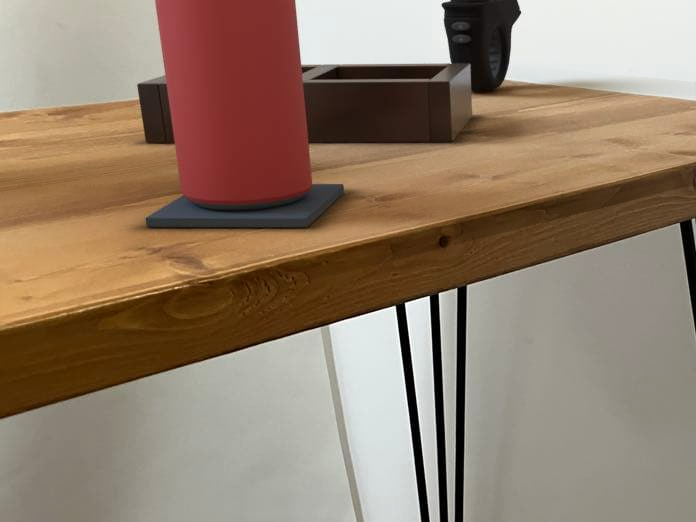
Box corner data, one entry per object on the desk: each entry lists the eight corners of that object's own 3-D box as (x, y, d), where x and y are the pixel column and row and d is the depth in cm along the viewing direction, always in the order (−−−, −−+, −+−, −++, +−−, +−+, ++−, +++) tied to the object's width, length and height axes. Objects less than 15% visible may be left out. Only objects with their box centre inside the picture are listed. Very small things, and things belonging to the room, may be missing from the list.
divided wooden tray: (145, 143, 77) (136, 83, 76) (202, 118, 88) (195, 65, 86) (452, 141, 76) (449, 81, 74) (472, 116, 86) (470, 63, 85)
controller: (439, 98, 96) (433, -25, 93) (484, 81, 107) (480, -30, 103) (486, 99, 95) (482, -26, 91) (526, 82, 106) (524, -30, 102)
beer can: (340, 193, 58) (319, -53, 54) (248, 219, 53) (216, -51, 49) (250, 181, 62) (223, -52, 57) (155, 205, 57) (117, -50, 52)
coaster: (146, 227, 54) (144, 217, 54) (202, 192, 62) (201, 183, 61) (307, 227, 54) (306, 217, 54) (344, 192, 61) (343, 183, 61)
